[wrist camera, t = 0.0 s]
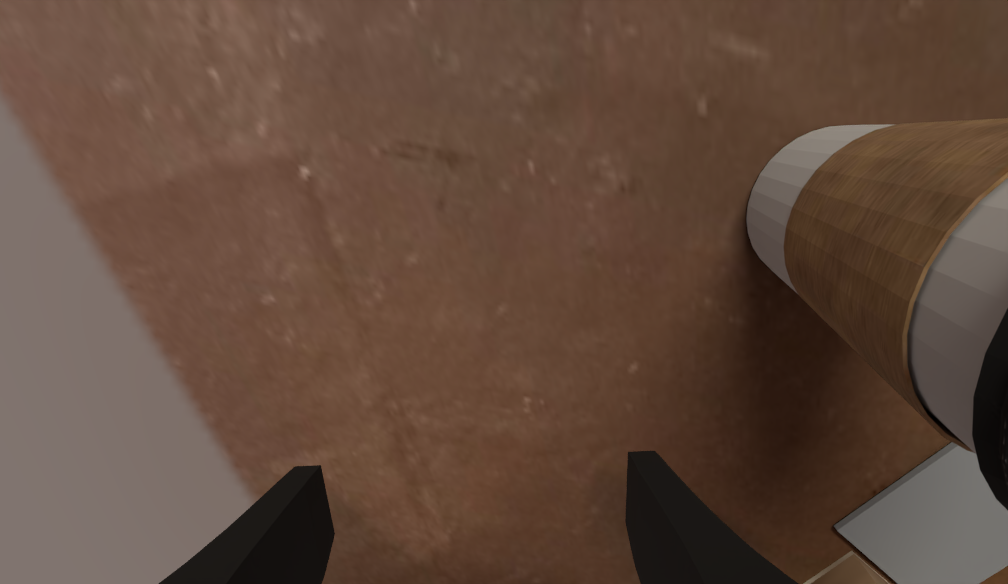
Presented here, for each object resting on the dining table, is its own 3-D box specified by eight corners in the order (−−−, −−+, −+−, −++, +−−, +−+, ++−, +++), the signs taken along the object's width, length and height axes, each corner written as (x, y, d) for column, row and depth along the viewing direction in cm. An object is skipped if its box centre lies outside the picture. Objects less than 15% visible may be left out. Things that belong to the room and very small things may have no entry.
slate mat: (927, 607, 28) (931, 613, 28) (833, 525, 26) (837, 530, 26) (1058, 525, 26) (1064, 530, 26) (967, 430, 24) (973, 434, 24)
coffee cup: (666, 232, 21) (997, 526, 7) (831, 35, 19) (1850, -125, 5) (817, 346, 23) (1328, 767, 9) (987, 180, 20) (2071, 389, 6)
